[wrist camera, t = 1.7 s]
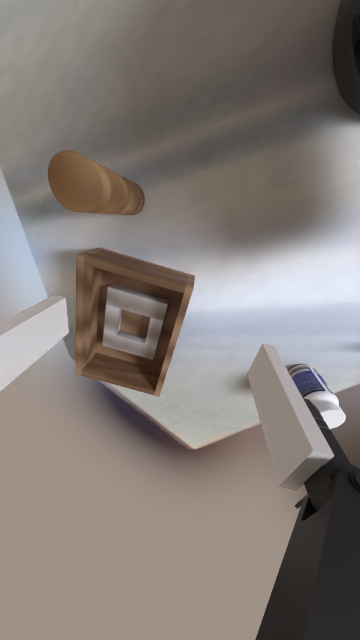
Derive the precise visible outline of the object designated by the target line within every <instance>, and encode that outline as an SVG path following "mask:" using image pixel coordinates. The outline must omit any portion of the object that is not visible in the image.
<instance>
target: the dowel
mask: <svg viewBox="0 0 360 640" xmlns="http://www.w3.org/2000/svg"><path fill="white" fill-rule="evenodd" d="M48 180H49V184H50V187H51V190H52V192H53V194H54V196H55V197H56V199H57V200H58V201H59V202H60V203H61V204H62V205H63V206H64V207H66V208H67V209H69V210H71V211H75V212H88V213H109V214H130V215H134V214H137V213H139V212H140V211H141V210H142V208H143V206H144V194H143V191H142V189H141V188H140V187H139V186H138V185H137V184H136V183H134V182H132V181H130V180H128V179H126V178H124V177H122V176H120V175H118V174H117V173H115V172H113V171H111V170H109V169H107V168H105V167H103V166H101V165H99V164H97V163H95V162H93V161H91V160H90V159H88V158H86V157H84V156H82V155H80V154H78V153H76V152H73V151H68V150H65V151H61V152H59V153H57V154H56V155H54V157H53V158H52V160H51V161H50V164H49V168H48Z"/></svg>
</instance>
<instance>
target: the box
mask: <svg viewBox="0 0 360 640" xmlns="http://www.w3.org/2000/svg"><path fill="white" fill-rule="evenodd" d="M194 279H195V276H193V275H190V274H187V273H183V272H180V271H176V270H173V269H170V268H166V267H163V266H160V265H156V264H153V263H149V262H146V261H143V260H139V259H136V258H132V257H129V256H126V255H122V254H119V253H115V252H112V251H109V250H105V249H102V248H97V249H94V250H90V251H87V252H83V253H80V254H77V266H76V374H78V375H82V376H86V377H89V378H93V379H97V380H100V381H104V382H108V383H111V384H115V385H119V386H122V387H126V388H130V389H133V390H137V391H141V392H144V393H148V394H152V395H155V396H160V392H161V389H162V386H163V383H164V380H165V377H166V373H167V370H168V367H169V364H170V361H171V358H172V354H173V351H174V348H175V345H176V342H177V339H178V335H179V332H180V329H181V326H182V323H183V320H184V316H185V313H186V310H187V307H188V304H189V301H190V297H191V294H192V291H193V287H194Z"/></svg>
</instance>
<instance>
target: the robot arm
mask: <svg viewBox="0 0 360 640" xmlns="http://www.w3.org/2000/svg"><path fill="white" fill-rule="evenodd" d="M333 62H334V71H335V76H336V80H337V84H338V87H339V89H340V92H341V94H342V96H343V97H344V99H345V100H346V102H347V103H348V104H349V105H350V106H351V107H352V108H353V109H354V110H355V111H357V112H358V113H360V0H342V2H341V6H340V9H339V14H338V18H337V23H336V28H335V35H334V46H333ZM68 333H69V328H68V317H67V305H66V297H61V296H57V295H53V296H51V297H49V298H47V299H46V300H44V301H42V302H40V303H38V304H36V305H34V306H32V307H30V308H28V309H26V310H24V311H22V312H20V313H18V314H17V315H15V316H13V317H11V318H9V319H7V320H5V321H3V322H1V323H0V391H1V390H2V389H4V388H5V387H6V386H7V385H8V384H9V383H10V382H12V381H13V380H14V379H15V378H16V377H18V376H19V375H20V374H21V373H22V372H23V371H24V370H26V369H27V368H28V367H29V366H30V365H32V364H33V363H34V362H35V361H36V360H37V359H39V358H40V357H41V356H42V355H43V354H44V353H45V352H47V351H48V350H49V349H50V348H51V347H53V346H54V345H55V344H56V343H57V342H58V341H60V340H61V339H62V338H63V337H64V336H66V335H67V334H68ZM247 375H248V379H249V382H250V386H251V390H252V393H253V397H254V400H255V404H256V407H257V411H258V415H259V418H260V422H261V425H262V429H263V432H264V436H265V439H266V443H267V447H268V450H269V454H270V457H271V461H272V464H273V468H274V471H275V475H276V479H277V482H278V486H280V487H284V488H288V489H293V490H297V489H298V488H300V487H301V486H302V485H303V484H304V485H305V487H306V490H307V493H308V494H307V495H306V496H304V497H303V498H302V499H301V500H300V501H298V502H297V504H296V505H295V507H296V508H299V507H300V506H301V509H300V511H299V514H298V517H297V520H296V523H295V526H294V528H293V532H292V534H291V537H290V540H289V543H288V546H287V549H286V552H285V555H284V558H283V561H282V564H281V567H280V570H279V573H278V575H277V578H276V581H275V584H274V587H273V590H272V593H271V596H270V599H269V602H268V605H267V608H266V610H265V613H264V616H263V619H262V622H261V625H260V628H259V631H258V634H257V637H256V640H360V469H359V468H357V467H356V466H353V465H351V463H350V462H349V460H348V459H347V457H346V455H345V454H344V452H343V450H342V449H341V447H340V446H339V444H338V442H337V440H336V439H335V437H334V435H333V434H332V432H331V430H329V427H328V425H327V424H326V422H325V421H324V419H323V417H322V415H321V413H320V412H319V410H318V409H317V408H316V407H315V406H314V404H313V403H312V402H311V401H310V400H309V399H305V398H302V396H301V394H300V392H299V390H298V389H297V387H296V385H295V383H294V381H293V380H292V378H291V376H290V374H289V372H288V370H287V369H286V367H285V365H284V363H283V361H282V360H281V358H280V356H279V354H278V352H277V351H276V349H275V347H274V346H272V345H267V344H262V346H261V348H260V350H259V352H258V353H257V355H256V357H255V359H254V361H253V363H252V365H251V367H250V369H249V371H248V373H247Z"/></svg>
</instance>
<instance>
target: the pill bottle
mask: <svg viewBox="0 0 360 640" xmlns="http://www.w3.org/2000/svg"><path fill="white" fill-rule="evenodd" d="M288 372H289V374H290V376H291V378H292V380H293V381H294V383H295V385H296V387H297V389H298V390H299V392H300V394H301V396H302V398H305V399H309V400H310V401H311V402H312V403H313V404H314V406H315V407H316V408H317V409H318V410H319V412H320V413H321V415H322V417H323V419H324V421H325V422H326V424H327V425H328V427H329V429H331V428H335V427H338V426H339V425H341V424H342V423H343V422H344V421H345V418H346V416H345V414H344V412H343V411H342V410H341V408H340V407H339V406H338V405H339V402H338V399H337V397H336V396H335V394H334V393H333V392H332V390H331V389H330V388H329V386H328V385H327V384H326V382H325V381H324V380H323V378H322V377H321V376H320V374H319V373H318V372H317V370H316V369H315V368H314V367H312V366H309V365H298V366H295V367H293V368H291V369H290V370H289V371H288Z"/></svg>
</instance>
